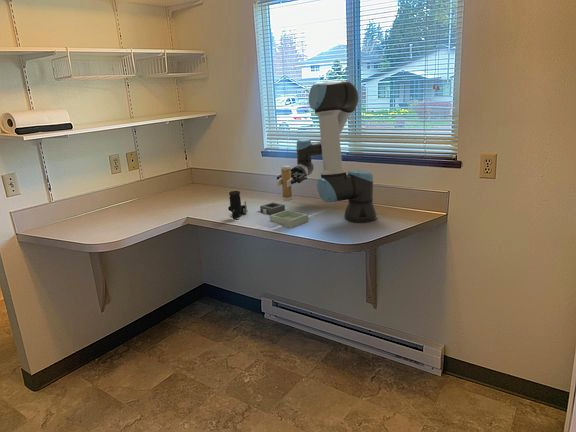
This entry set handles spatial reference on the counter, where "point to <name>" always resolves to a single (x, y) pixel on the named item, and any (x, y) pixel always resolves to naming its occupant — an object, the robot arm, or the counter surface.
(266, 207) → the socket block
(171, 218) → the counter surface
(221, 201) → the counter surface
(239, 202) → the scope
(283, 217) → the parts tray
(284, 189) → the cylinder
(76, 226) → the counter surface
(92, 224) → the counter surface
